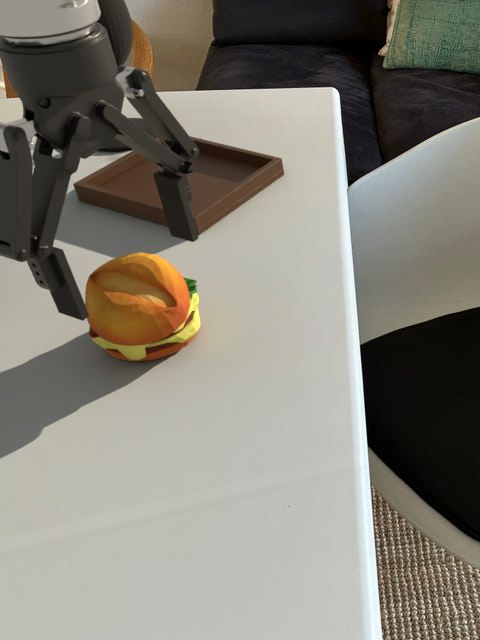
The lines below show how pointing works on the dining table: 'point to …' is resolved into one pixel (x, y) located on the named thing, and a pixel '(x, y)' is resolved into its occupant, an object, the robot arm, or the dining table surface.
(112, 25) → the wine glass
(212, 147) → the tray
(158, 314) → the cheeseburger
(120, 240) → the dining table surface
